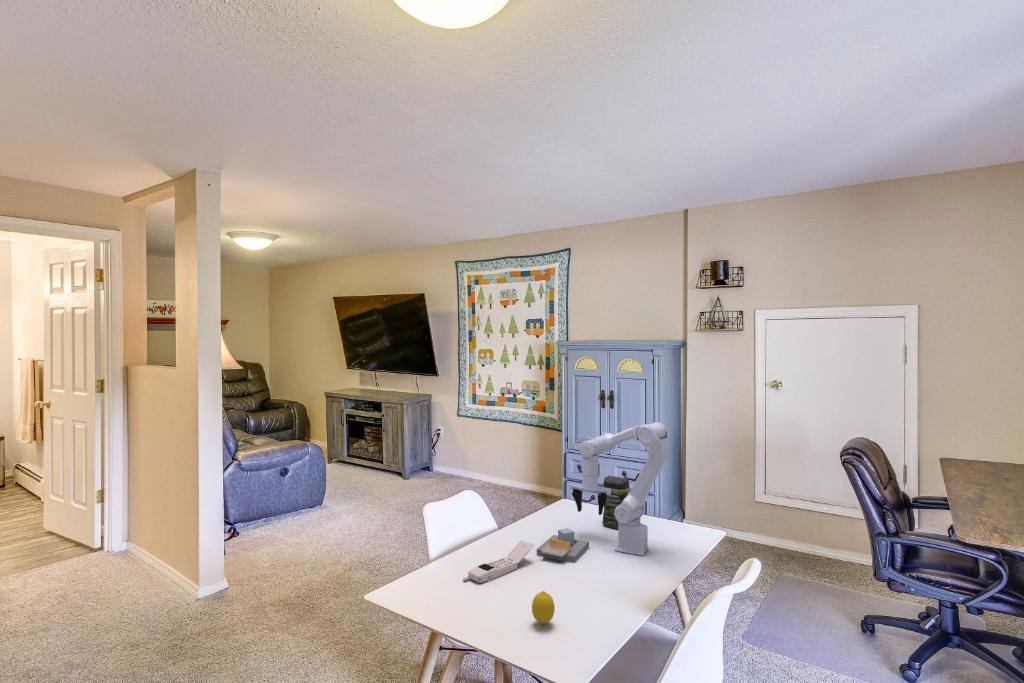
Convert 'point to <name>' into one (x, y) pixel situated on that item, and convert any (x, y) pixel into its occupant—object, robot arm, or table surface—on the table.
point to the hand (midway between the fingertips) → (590, 512)
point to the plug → (566, 535)
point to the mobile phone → (500, 564)
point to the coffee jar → (614, 498)
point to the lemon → (543, 607)
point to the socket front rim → (576, 540)
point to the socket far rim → (551, 538)
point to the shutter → (557, 548)
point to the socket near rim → (581, 546)
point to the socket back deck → (570, 556)
